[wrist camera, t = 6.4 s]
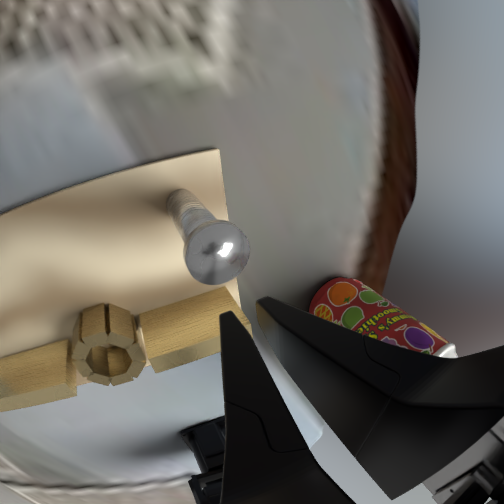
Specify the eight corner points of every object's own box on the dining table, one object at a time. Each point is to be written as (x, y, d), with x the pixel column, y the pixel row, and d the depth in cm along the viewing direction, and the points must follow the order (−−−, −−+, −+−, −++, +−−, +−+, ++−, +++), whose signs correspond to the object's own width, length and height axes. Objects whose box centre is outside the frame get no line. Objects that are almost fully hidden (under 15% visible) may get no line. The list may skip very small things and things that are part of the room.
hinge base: (230, 317, 24) (255, 356, 20) (91, 361, 20) (95, 407, 16) (221, 265, 22) (248, 302, 18) (63, 314, 18) (58, 361, 14)
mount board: (242, 328, 26) (244, 333, 26) (18, 393, 19) (18, 398, 18) (216, 148, 18) (219, 149, 18) (-72, 252, 11) (-76, 255, 10)
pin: (204, 218, 19) (252, 273, 13) (164, 229, 19) (193, 293, 12) (198, 178, 18) (246, 217, 12) (155, 189, 17) (179, 235, 11)
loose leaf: (76, 351, 19) (76, 395, 15) (7, 371, 16) (0, 412, 13) (67, 338, 18) (65, 382, 15) (-3, 359, 16) (-11, 400, 12)
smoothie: (351, 249, 28) (517, 373, 12) (364, 298, 33) (488, 405, 17) (285, 301, 27) (439, 467, 11) (310, 343, 32) (425, 472, 16)
